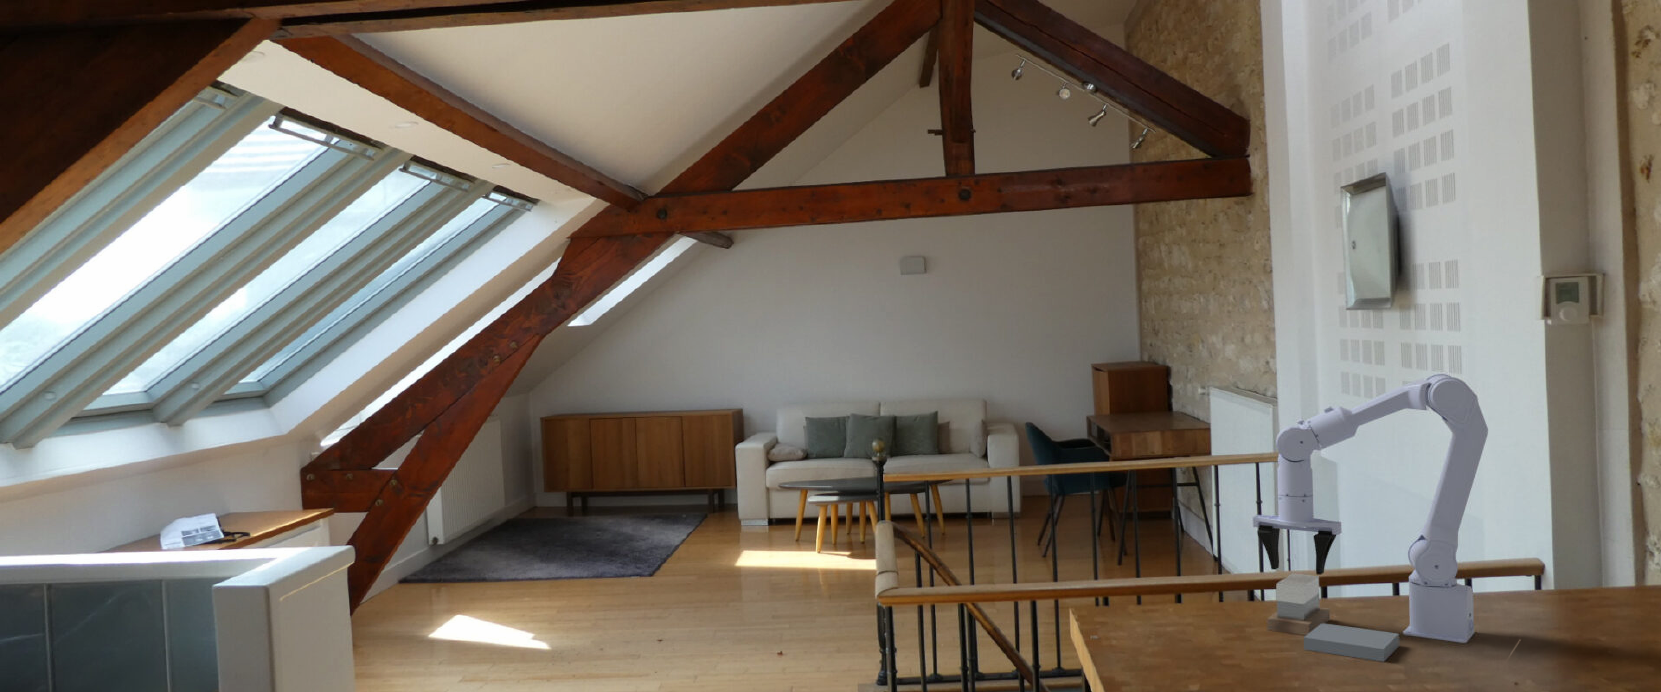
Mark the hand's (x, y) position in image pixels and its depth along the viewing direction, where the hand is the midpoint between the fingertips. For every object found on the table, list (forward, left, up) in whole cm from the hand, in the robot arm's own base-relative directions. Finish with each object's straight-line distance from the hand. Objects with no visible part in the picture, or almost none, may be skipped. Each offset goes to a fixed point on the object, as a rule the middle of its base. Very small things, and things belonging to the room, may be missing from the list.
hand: (1297, 570), depth 195 cm
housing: (0, 0, -8) cm, 8 cm away
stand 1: (0, 0, -10) cm, 10 cm away
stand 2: (-11, +9, -10) cm, 17 cm away
